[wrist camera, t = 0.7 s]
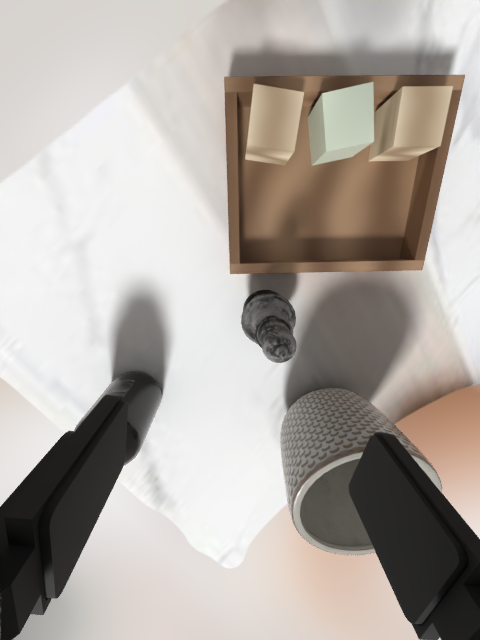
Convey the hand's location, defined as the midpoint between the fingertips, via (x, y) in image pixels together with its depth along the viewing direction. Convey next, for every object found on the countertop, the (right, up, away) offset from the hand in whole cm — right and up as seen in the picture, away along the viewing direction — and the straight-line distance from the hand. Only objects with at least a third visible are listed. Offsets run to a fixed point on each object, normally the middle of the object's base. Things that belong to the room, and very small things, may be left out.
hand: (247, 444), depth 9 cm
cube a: (+14, +22, +14) cm, 30 cm away
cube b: (+8, +22, +14) cm, 28 cm away
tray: (+9, +18, +16) cm, 26 cm away
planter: (+11, -8, +25) cm, 29 cm away
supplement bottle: (-14, -5, +24) cm, 28 cm away
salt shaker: (+3, +6, +20) cm, 21 cm away
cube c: (+2, +22, +14) cm, 26 cm away
